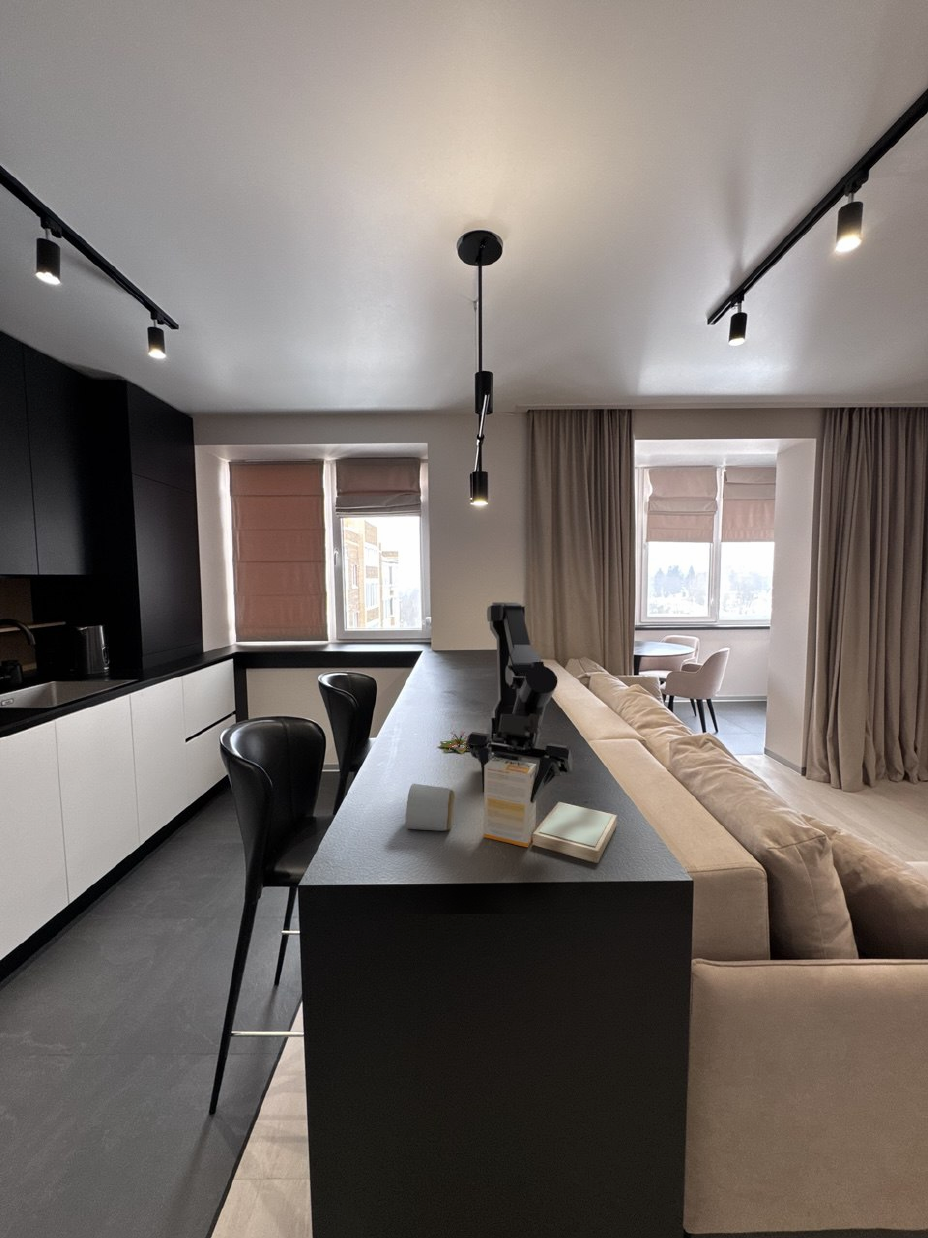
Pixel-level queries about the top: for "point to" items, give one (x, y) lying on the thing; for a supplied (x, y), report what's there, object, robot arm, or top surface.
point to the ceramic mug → (430, 808)
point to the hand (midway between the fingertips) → (507, 797)
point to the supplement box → (509, 801)
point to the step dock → (576, 831)
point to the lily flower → (454, 742)
